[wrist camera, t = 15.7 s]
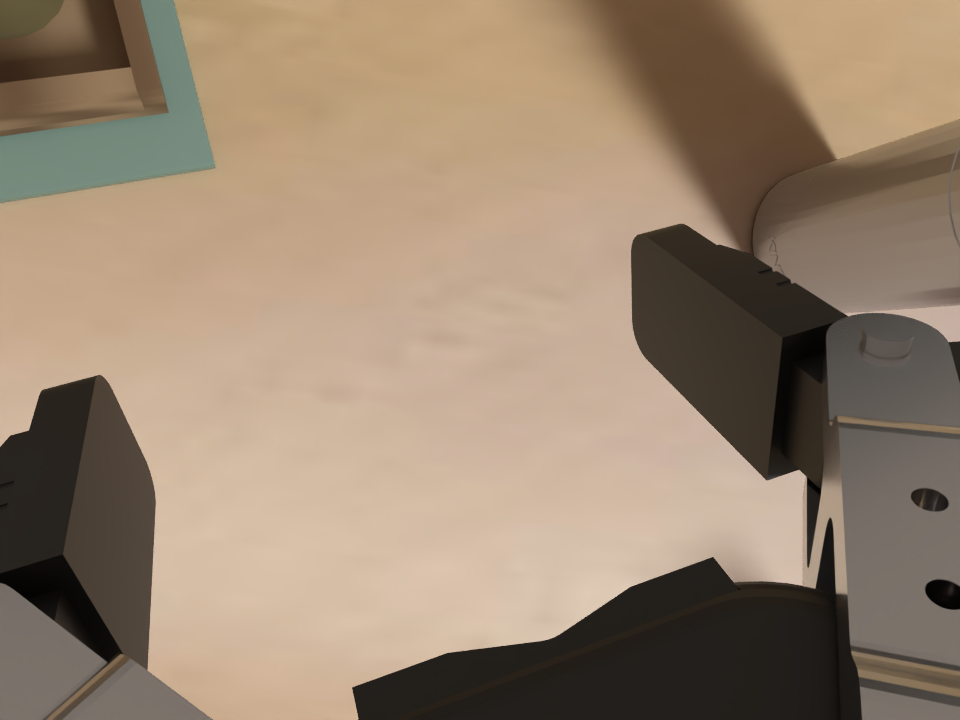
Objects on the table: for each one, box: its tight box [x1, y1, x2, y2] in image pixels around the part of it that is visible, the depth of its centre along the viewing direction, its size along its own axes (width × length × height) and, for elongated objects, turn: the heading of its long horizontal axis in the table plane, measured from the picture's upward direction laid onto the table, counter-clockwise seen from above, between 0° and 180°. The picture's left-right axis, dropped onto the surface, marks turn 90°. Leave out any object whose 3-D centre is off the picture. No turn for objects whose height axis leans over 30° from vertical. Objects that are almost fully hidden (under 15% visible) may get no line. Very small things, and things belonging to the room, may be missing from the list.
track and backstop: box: [0, 0, 215, 203], centre depth 34 cm, size 18×16×5 cm
